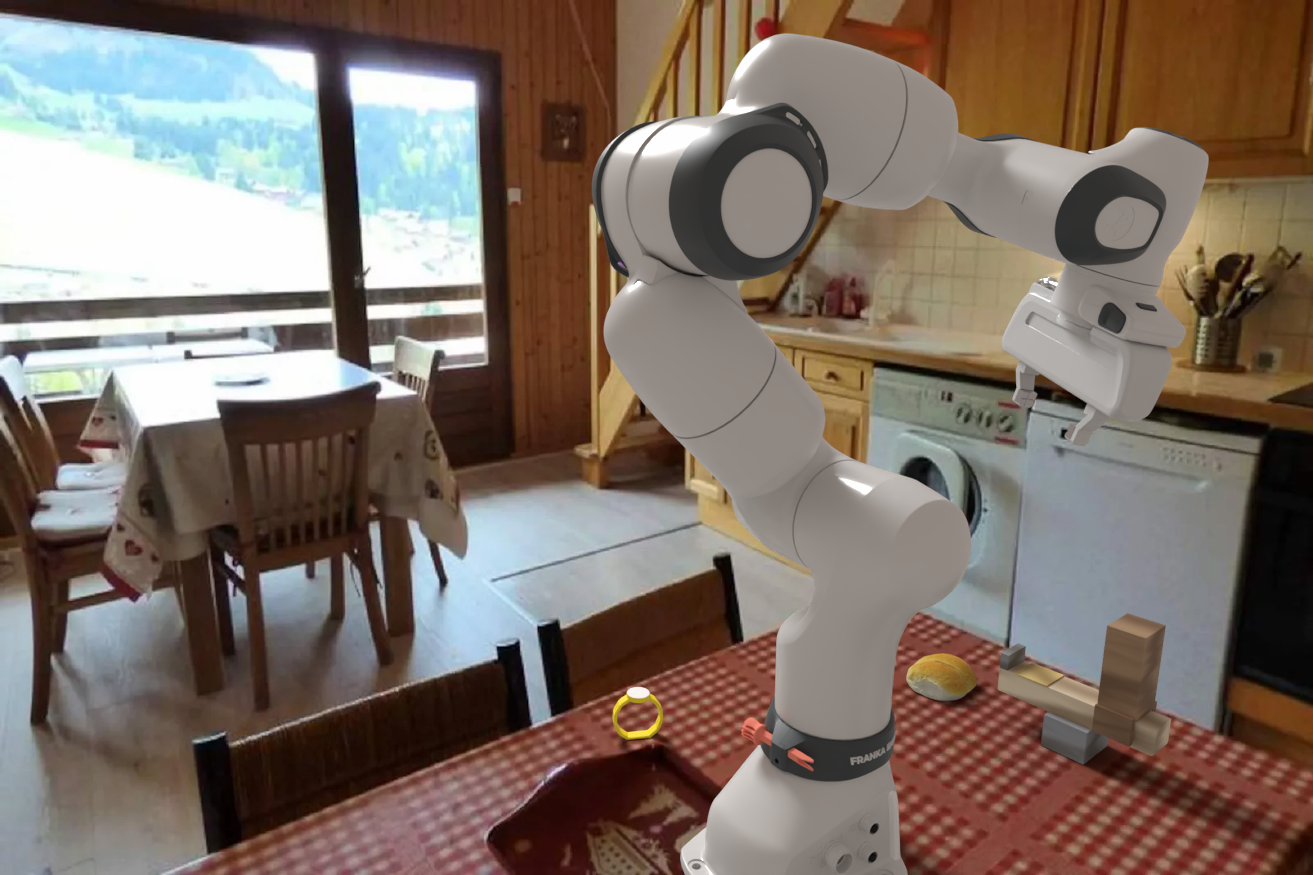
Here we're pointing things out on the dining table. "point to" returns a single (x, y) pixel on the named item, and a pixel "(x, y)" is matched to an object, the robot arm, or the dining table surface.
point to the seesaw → (1070, 709)
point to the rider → (1128, 676)
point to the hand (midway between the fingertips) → (1046, 422)
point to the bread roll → (941, 677)
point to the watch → (637, 697)
